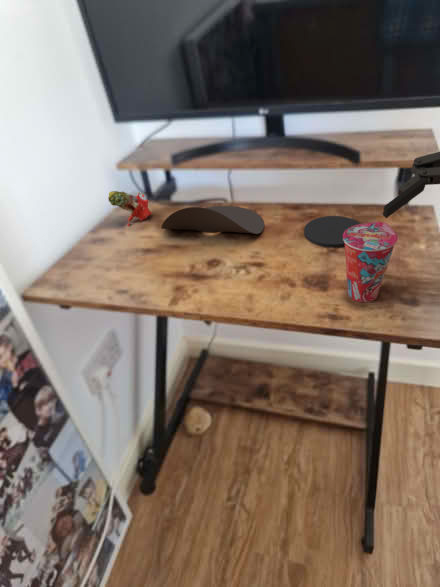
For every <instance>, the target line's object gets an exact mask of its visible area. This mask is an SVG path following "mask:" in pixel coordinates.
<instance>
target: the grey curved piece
mask: <svg viewBox="0 0 440 587" xmlns="http://www.w3.org/2000/svg"><path fill="white" fill-rule="evenodd" d="M160 228H161V230H187V231H196V232H197V231H198V232H202V233H205V234H217V233H242V234H253V235H254V234H255V235H258V234H261V233H263V231H264V229H265V222H264V219H263V218H262V217H261V216H260V215H259V214H258V213H257V212H255V211H253V210H251V209H249V208H245V207H242V206H234V205H215V206H207V207H201V206H190V207H184V208H180V209H178V210H175V212H173V213H171V214H170V215H168V217H166V218H165V220H164V221H163V222H162V224H161V226H160Z"/></svg>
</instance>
